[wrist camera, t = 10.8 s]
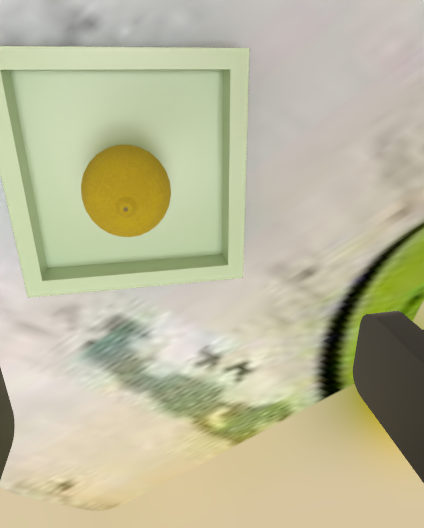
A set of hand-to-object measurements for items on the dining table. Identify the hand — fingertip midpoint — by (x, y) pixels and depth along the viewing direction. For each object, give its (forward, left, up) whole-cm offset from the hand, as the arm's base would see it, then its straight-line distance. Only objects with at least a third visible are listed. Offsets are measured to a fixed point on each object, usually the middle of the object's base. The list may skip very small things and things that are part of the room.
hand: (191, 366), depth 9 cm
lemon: (+1, 0, -23) cm, 23 cm away
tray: (+1, 0, -23) cm, 23 cm away
